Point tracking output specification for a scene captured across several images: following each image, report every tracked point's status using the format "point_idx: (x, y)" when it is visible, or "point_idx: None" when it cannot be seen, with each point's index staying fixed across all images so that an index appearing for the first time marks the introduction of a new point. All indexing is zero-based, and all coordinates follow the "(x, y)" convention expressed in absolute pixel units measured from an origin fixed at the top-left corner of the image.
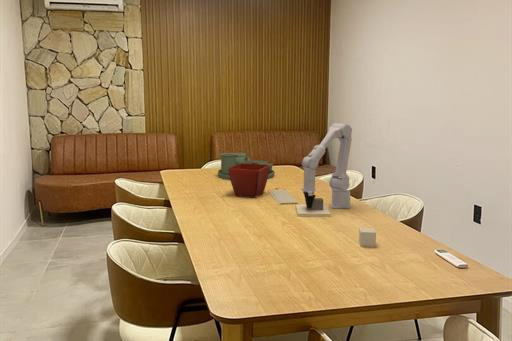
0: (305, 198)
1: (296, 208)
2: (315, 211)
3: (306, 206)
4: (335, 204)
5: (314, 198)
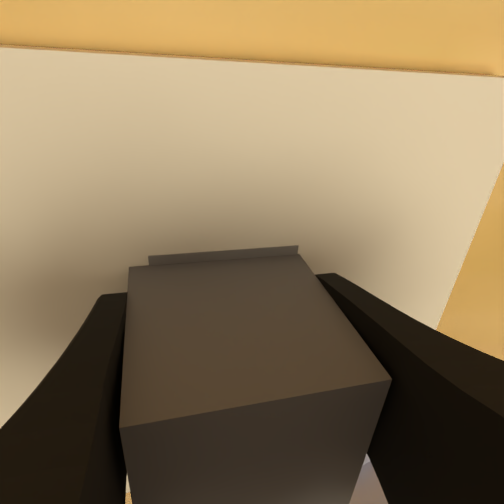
0: (402, 350)
1: (291, 64)
2: None
3: (295, 266)
4: (361, 498)
5: (322, 502)
